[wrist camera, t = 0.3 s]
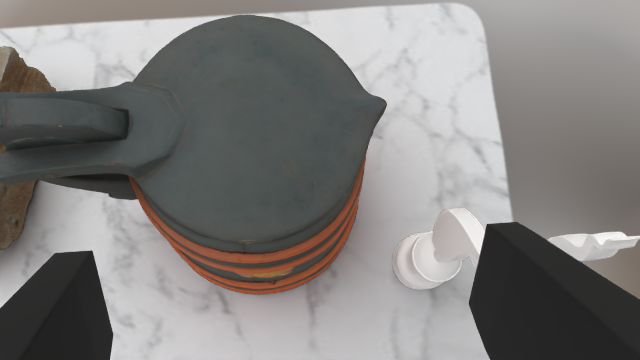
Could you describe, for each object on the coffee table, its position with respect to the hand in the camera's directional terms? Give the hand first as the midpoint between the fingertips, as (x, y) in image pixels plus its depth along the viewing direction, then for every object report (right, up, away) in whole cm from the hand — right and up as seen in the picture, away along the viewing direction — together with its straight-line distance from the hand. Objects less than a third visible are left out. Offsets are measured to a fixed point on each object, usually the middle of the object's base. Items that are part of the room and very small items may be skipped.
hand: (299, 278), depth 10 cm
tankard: (-6, 0, +31) cm, 32 cm away
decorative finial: (+8, -5, +31) cm, 32 cm away
